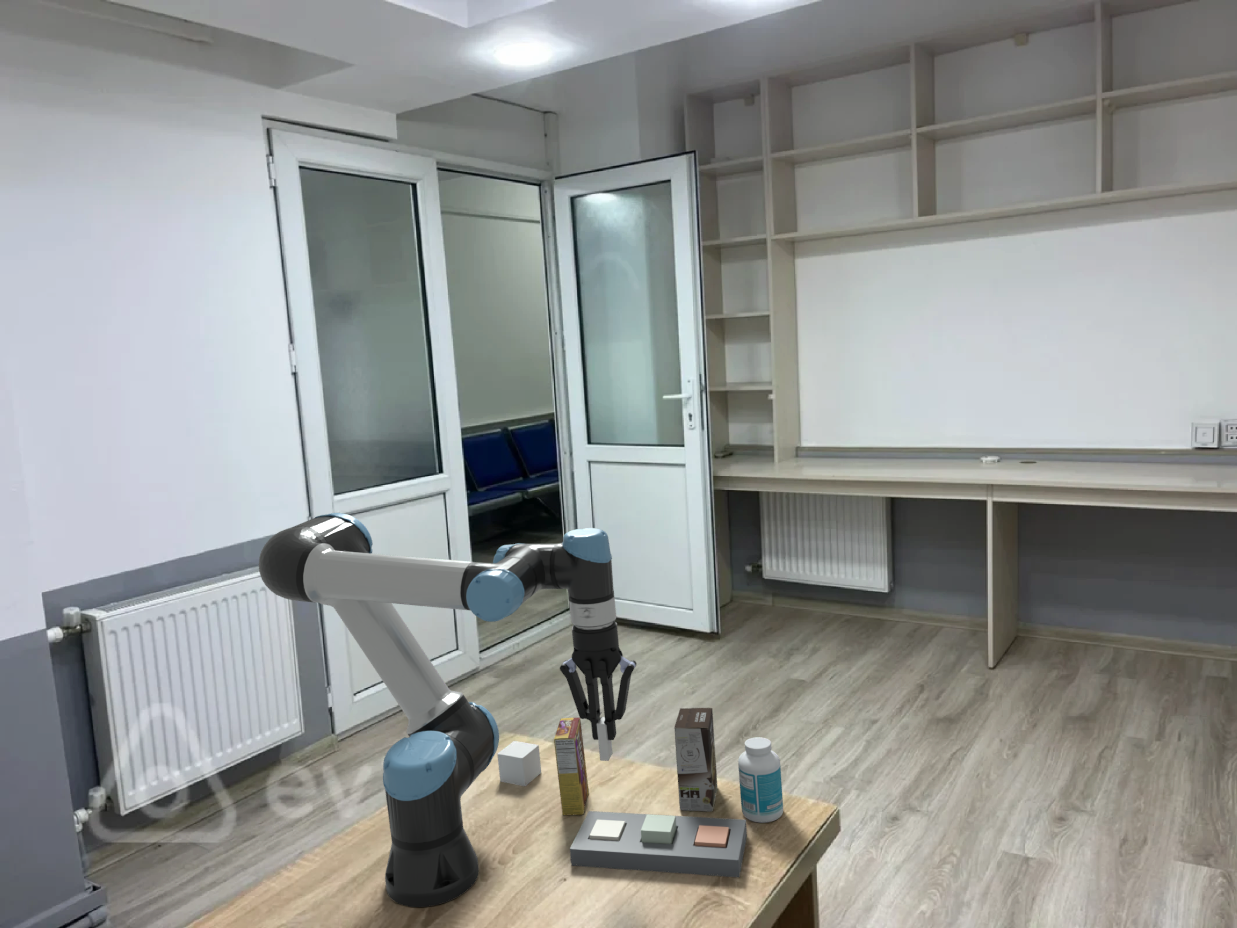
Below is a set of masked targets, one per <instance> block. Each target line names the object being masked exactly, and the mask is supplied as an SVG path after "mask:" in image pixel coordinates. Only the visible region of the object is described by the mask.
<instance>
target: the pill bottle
mask: <svg viewBox="0 0 1237 928" xmlns="http://www.w3.org/2000/svg"><path fill="white" fill-rule="evenodd" d="M737 762H738V779H739V792H740V793H739V794H740V795H739V796H740V804H741V805H740V806H741V813H742V815H743V816H744V817H745V818H746V819H747V820H749V821H750V822H754V823H762V824H764V823H771V822H774V821H776V820H778V819H780V818H781V817H782V816H783V812H784V799H783V798H784V797H783V787H782V785H783V784H782V783H783V782H782V772H781V771H782V768H781V766H782V765H781V759H780V756H779V755H778V754H777V753H776V752H775V751H774V750H773V746H772V741H771V740H770V739H768V738H767V737H766V738H765V737H761V736H760V737H759V736H758V737H757V736H755V737H750V738H748V739H746V740H745V741H744V751H743V752H742V753H741V754H740V755H739V757H738V760H737Z"/></svg>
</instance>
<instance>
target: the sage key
mask: <svg viewBox="0 0 1237 928" xmlns="http://www.w3.org/2000/svg"><path fill="white" fill-rule="evenodd" d="M646 814H647V815H646V818H645V821H644V823H643V826H642V828H641V840H642V843H658V844H673V841H674V838H675V835H676V832H677V829H676V816H677V815H671V816H666V815H667V814H653V815H649V813H646Z"/></svg>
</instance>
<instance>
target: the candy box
mask: <svg viewBox="0 0 1237 928" xmlns="http://www.w3.org/2000/svg"><path fill="white" fill-rule="evenodd" d="M581 720H582V719H581V718H580V717H564V718H560V720H559V723H558V726H557V729H556V732H555V734H554V738H553V743H554V751H555V752H554V753H555V762H556V770H557V779H558V780H557V781H558V789H559V797H560V804H561V813H562V816H582V815H583V816H584V812H585V809H586V805H587V799H588V796H589V795H588V794H589V791H590V789H589V782H588V775H587V774H588V773H587V772H588V771H587V764H586V763H587V762H586V756H585V747H584V739H583V737H584V736H583V731H582V730H583V729H582V722H581Z"/></svg>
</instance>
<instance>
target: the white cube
mask: <svg viewBox="0 0 1237 928" xmlns="http://www.w3.org/2000/svg"><path fill="white" fill-rule="evenodd" d="M496 754H497V762H498V773H499V782H502V783H505V784H511V785H516V786H522V787H526V786H527V785H528V784H530V783H532V781H533V780H534V779H536V778H537V777H538V776H539V775H540V774H542V766H541V757H540V756H541V755H540V754H541V753H540V745H539V744H535V743H528V742H524V741H517V740H513V741H512V742H511V743H509V744H508V745H507V746H506V747H504V748H503V749H501V750H500V751H499V752H498V753H496Z"/></svg>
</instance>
